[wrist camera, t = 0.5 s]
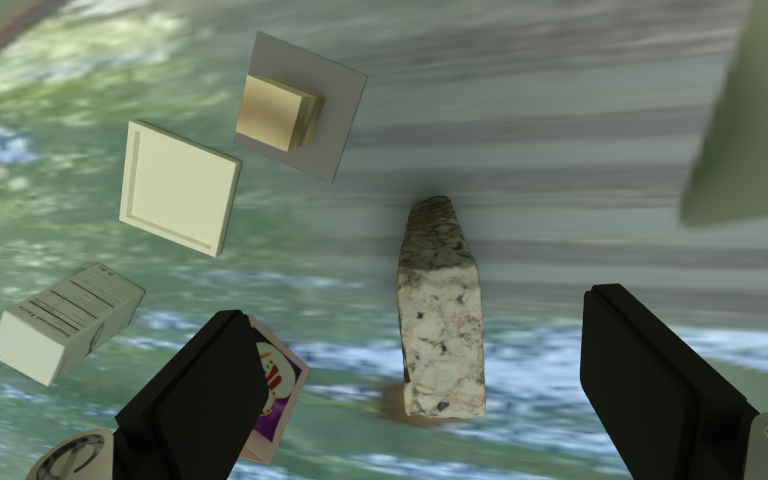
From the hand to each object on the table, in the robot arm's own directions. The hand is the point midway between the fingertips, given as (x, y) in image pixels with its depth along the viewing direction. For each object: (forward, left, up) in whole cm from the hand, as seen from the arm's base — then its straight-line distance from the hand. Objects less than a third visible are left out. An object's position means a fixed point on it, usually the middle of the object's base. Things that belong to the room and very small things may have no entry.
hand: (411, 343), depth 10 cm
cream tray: (+14, -26, -33) cm, 44 cm away
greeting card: (+33, -10, -33) cm, 48 cm away
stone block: (+9, +5, -33) cm, 35 cm away
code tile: (0, -15, -33) cm, 36 cm away
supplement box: (+33, -33, -33) cm, 57 cm away
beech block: (0, -15, -33) cm, 36 cm away
